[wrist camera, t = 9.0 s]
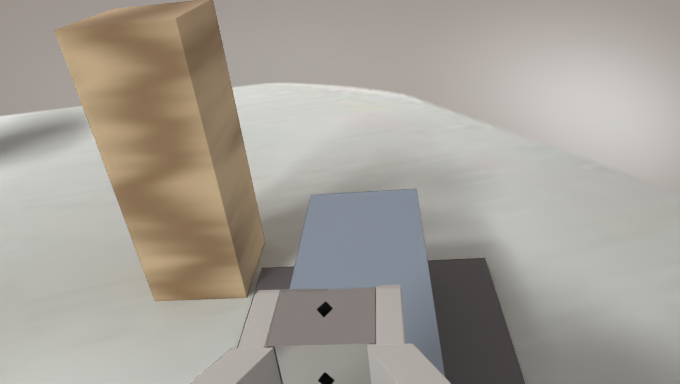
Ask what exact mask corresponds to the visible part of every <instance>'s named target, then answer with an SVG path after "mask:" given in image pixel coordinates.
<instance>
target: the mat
mask: <svg viewBox="0 0 680 384" xmlns="http://www.w3.org/2000/svg"><path fill="white" fill-rule="evenodd" d="M428 268H429V275H430V281H431V288H432V294H433V301H434V307H435V314H436V321H437V327H438V334H439V340H440V347H441V354H442V360H443V367H444V373H445V378H446V379H447V380H448V381H449V382H450V383H451V384H525V382H524V379H523V376H522V373H521V370H520V367H519V363H518V360H517V357H516V354H515V351H514V348H513V345H512V341H511V338H510V335H509V332H508V329H507V326H506V323H505V320H504V316H503V313H502V310H501V307H500V304H499V301H498V298H497V294H496V291H495V288H494V285H493V282H492V279H491V276H490V273H489V269H488V266H487V263H486V260H485V258H474V259H452V260H430V261H428ZM293 271H294V267H274V268H262V271H261V274H260V277H259V280H258V283H257V287H256V290H255V293H254V295H255V294H256V293H257V292H258V291H259V290H282V289H290V285H291V280H292V276H293ZM253 299H254V296H253ZM253 299H252V302H253ZM252 302H251V305H252ZM250 308H251V306H250ZM249 311H250V309H249ZM248 314H249V312H248ZM247 318H248V315H247ZM247 318H246V321H247ZM246 321H245V324H246ZM245 324H244V327H245ZM243 330H244V328H243ZM242 333H243V331H242ZM241 336H242V334H241ZM240 340H241V337H240ZM240 340H239V343H240ZM239 343H238V346H239ZM238 346H237V348H238Z"/></svg>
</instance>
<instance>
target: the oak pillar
mask: <svg viewBox="0 0 680 384" xmlns="http://www.w3.org/2000/svg"><path fill="white" fill-rule="evenodd" d="M54 31H55V34H56V36H57V39H58V42H59V44H60V47H61V50H62V52H63V55H64V58H65V60H66V63H67V66H68V69H69V71H70V74H71V77H72V79H73V82H74V85H75V87H76V90H77V92H78V95H79V98H80V101H81V103H82V106H83V109H84V112H85V114H86V117H87V120H88V122H89V125H90V128H91V130H92V133H93V136H94V138H95V141H96V144H97V146H98V149H99V152H100V154H101V157H102V160H103V163H104V165H105V168H106V171H107V173H108V176H109V179H110V181H111V184H112V187H113V189H114V192H115V195H116V197H117V200H118V203H119V206H120V208H121V211H122V214H123V216H124V219H125V222H126V224H127V227H128V230H129V232H130V235H131V238H132V240H133V243H134V246H135V248H136V251H137V254H138V257H139V259H140V262H141V265H142V267H143V270H144V273H145V275H146V278H147V281H148V283H149V286H150V289H151V291H152V294H153V297H154V300H155V301H167V300H193V299H218V298H244V297H247V295H248V292H249V289H250V286H251V283H252V280H253V277H254V274H255V271H256V268H257V265H258V262H259V259H260V256H261V253H262V250H263V247H264V244H265V239H264V234H263V230H262V225H261V221H260V216H259V211H258V207H257V202H256V197H255V193H254V188H253V183H252V179H251V174H250V169H249V165H248V160H247V155H246V151H245V146H244V142H243V137H242V132H241V128H240V123H239V118H238V114H237V109H236V104H235V100H234V95H233V90H232V86H231V81H230V77H229V72H228V68H227V63H226V58H225V53H224V49H223V44H222V40H221V35H220V31H219V26H218V21H217V16H216V11H215V7H214V2H213V0H195V1H186V2H176V3H166V4H157V5H148V6H137V7H128V8H118V9H112V10H109V11H107V12H103V13H101V14H98V15H95V16H93V17H90V18H87V19H84V20H82V21H79V22H76V23H73V24H70V25H68V26H65V27H62V28H59V29H57V30H54Z"/></svg>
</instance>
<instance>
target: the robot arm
mask: <svg viewBox="0 0 680 384" xmlns="http://www.w3.org/2000/svg"><path fill="white" fill-rule="evenodd" d="M190 384H451V383H450V382H449V381H448V380H447V379H446V378H445V377H444V376H443V375H442V374H441V372H440V371H439V370H438V369H437V368H436V367H435V366H434V365H433V364H432V363H431V362H430V361H429V360H428V359H427V358H426V357H425V356H424V355H423V354H422V352H421V351H420V350H419V349H418V348H417V347H416V346H415V345H414V344H406V342H405V328H404V315H403V301H402V287H401V286H400V284H398V285H382V286H374V287H353V288H331V289H282V290H259V291H258V292H257V293H256V294H255V295H254V299H253V302H252V305H251V308H250V311H249V314H248V318H247V321H246V324H245V327H244V330H243V333H242V336H241V340H240V343H239V346H238V348H235V349H230V350H229V351H227V352H226V353H225V354H224V355H223V356H222V357H220V358H219V359H218V360H217V361H216V362H215V363H213V364H212V365H211V366H210V367H209V368H208V369H207V370H205V371H204V372H203V373H202V374H201V375H200V376H198V377H197V378H196V379H195V380H194V381H193V382H191V383H190Z"/></svg>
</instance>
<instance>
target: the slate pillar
mask: <svg viewBox="0 0 680 384" xmlns="http://www.w3.org/2000/svg"><path fill="white" fill-rule="evenodd" d="M398 284H400V286H401V287H402V301H403V315H404V328H405V342H406V344H414V345H415V346H416V347H417V348H418V349H419V350H420V351H421V352H422V354H423V355H424V356H425V357H426V358H427V359H428V360H429V361H430V362H431V363H432V364H433V365H434V366H435V367H436V368H437V369H438V370H439V371H440V372H441V374H442V375H443V376H444V377H445V373H444V367H443V360H442V354H441V347H440V340H439V334H438V327H437V321H436V314H435V307H434V301H433V294H432V288H431V281H430V275H429V268H428V261H427V255H426V248H425V242H424V235H423V228H422V222H421V215H420V209H419V202H418V195H417V189H402V190H385V191H368V192H352V193H335V194H319V195H311V197H310V201H309V205H308V210H307V214H306V219H305V223H304V227H303V232H302V236H301V241H300V245H299V249H298V254H297V258H296V263H295V267H294V271H293V276H292V280H291V285H290V289H331V288H353V287H374V286H382V285H398Z"/></svg>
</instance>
